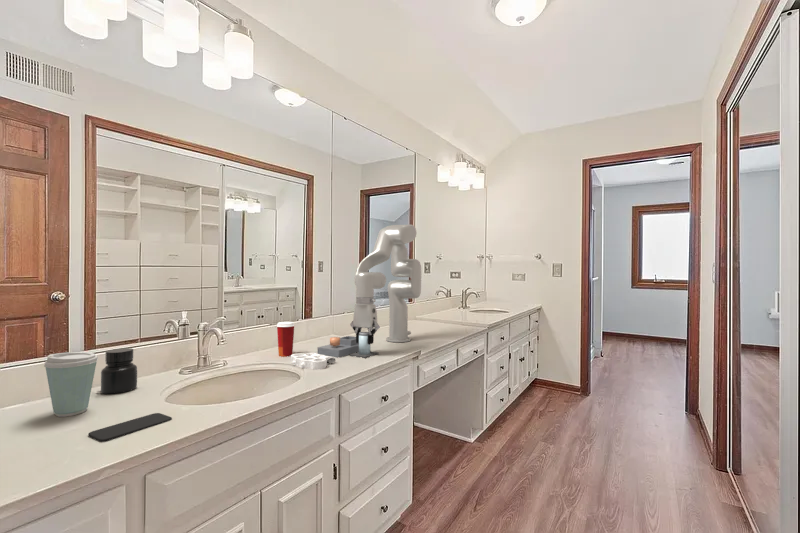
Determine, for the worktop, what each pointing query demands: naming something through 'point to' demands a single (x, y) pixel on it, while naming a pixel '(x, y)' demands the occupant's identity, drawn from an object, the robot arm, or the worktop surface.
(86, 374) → the disposable coffee cup
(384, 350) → the worktop surface
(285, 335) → the paper cup
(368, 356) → the mat
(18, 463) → the worktop surface
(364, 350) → the cylinder
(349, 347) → the grey stepped block
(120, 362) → the ink bottle
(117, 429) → the phone
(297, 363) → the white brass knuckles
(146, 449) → the worktop surface
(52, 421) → the worktop surface
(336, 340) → the plunger
